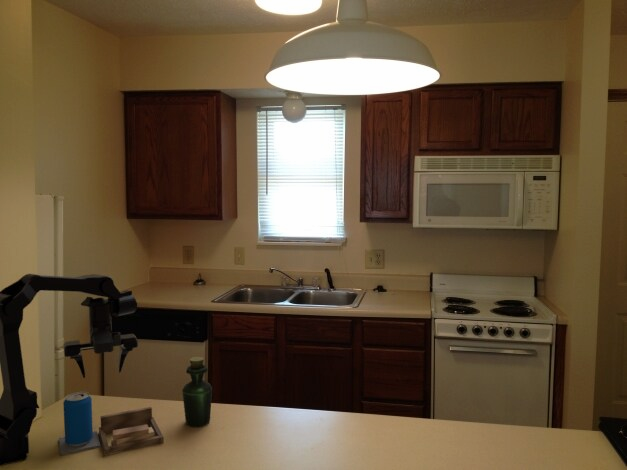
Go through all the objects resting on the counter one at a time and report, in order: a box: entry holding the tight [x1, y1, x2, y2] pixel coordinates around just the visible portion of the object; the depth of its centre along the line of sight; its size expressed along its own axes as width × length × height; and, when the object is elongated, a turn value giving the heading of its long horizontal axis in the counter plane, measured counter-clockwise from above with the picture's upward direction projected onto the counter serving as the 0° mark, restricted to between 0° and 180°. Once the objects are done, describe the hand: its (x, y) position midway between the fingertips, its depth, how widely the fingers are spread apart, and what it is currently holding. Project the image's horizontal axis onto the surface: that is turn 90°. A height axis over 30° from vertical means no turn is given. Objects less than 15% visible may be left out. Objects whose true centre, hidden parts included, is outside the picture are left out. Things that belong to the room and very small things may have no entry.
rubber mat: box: [58, 430, 102, 456], centre depth 132 cm, size 9×9×1 cm
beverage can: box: [62, 391, 94, 446], centre depth 131 cm, size 6×6×12 cm
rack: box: [98, 406, 165, 456], centre depth 135 cm, size 14×14×4 cm
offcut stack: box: [110, 425, 156, 446], centre depth 132 cm, size 10×4×4 cm, turn 118°
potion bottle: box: [181, 356, 213, 428], centre depth 144 cm, size 8×8×18 cm
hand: (102, 374), depth 145 cm, fingers open, 9 cm apart
